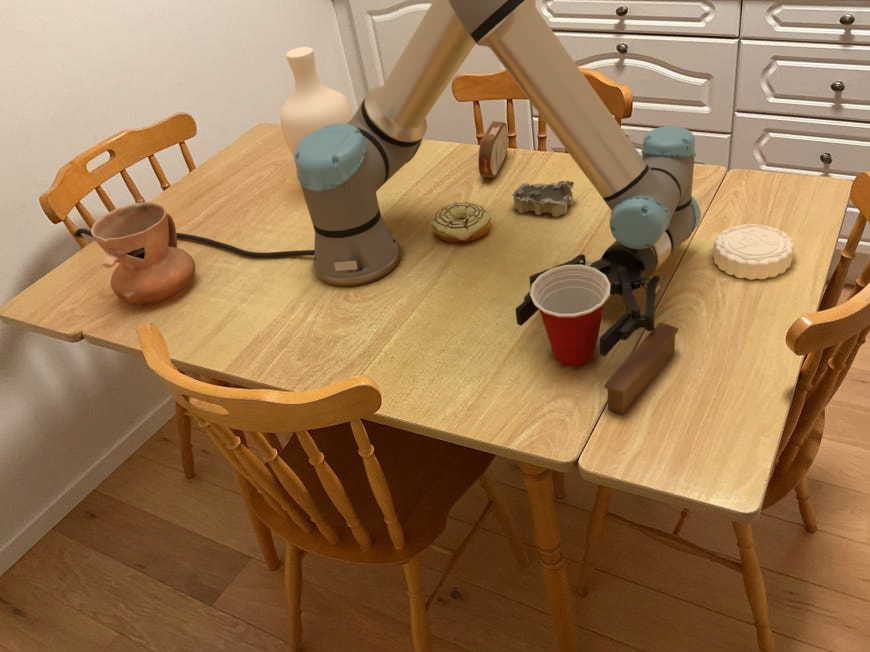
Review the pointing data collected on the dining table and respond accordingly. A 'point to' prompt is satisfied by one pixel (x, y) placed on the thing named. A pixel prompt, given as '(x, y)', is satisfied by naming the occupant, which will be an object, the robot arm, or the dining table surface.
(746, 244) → the mooncake
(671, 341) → the walnut rail
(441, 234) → the decorated donut
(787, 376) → the dining table surface
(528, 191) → the egg carton
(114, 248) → the ceramic jug
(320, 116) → the vase
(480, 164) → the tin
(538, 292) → the plastic cup
